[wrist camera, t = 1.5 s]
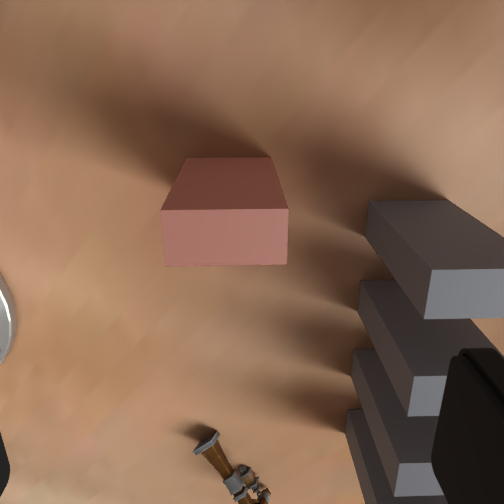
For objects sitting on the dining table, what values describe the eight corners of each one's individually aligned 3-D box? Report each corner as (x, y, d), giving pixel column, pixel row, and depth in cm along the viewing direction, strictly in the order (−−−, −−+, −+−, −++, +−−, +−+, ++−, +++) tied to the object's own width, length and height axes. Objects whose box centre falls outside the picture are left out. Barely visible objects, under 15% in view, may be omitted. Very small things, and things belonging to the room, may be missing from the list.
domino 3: (429, 310, 32) (508, 413, 22) (357, 311, 32) (407, 416, 22) (434, 278, 31) (519, 374, 22) (360, 280, 31) (414, 376, 21)
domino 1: (270, 196, 28) (286, 264, 19) (188, 197, 28) (165, 266, 19) (270, 157, 27) (288, 208, 18) (186, 157, 27) (160, 210, 18)
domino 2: (442, 236, 29) (535, 317, 20) (365, 237, 29) (423, 319, 20) (448, 200, 29) (549, 268, 19) (368, 200, 28) (431, 270, 19)
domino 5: (408, 431, 36) (467, 560, 27) (345, 433, 36) (382, 563, 27) (412, 407, 35) (475, 533, 26) (347, 409, 35) (387, 535, 26)
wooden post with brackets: (265, 508, 38) (253, 546, 33) (210, 427, 38) (191, 453, 34) (282, 498, 37) (273, 535, 33) (226, 416, 38) (210, 441, 34)
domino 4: (418, 374, 34) (486, 493, 25) (350, 376, 34) (394, 496, 24) (422, 347, 33) (495, 460, 24) (353, 349, 33) (399, 463, 24)
